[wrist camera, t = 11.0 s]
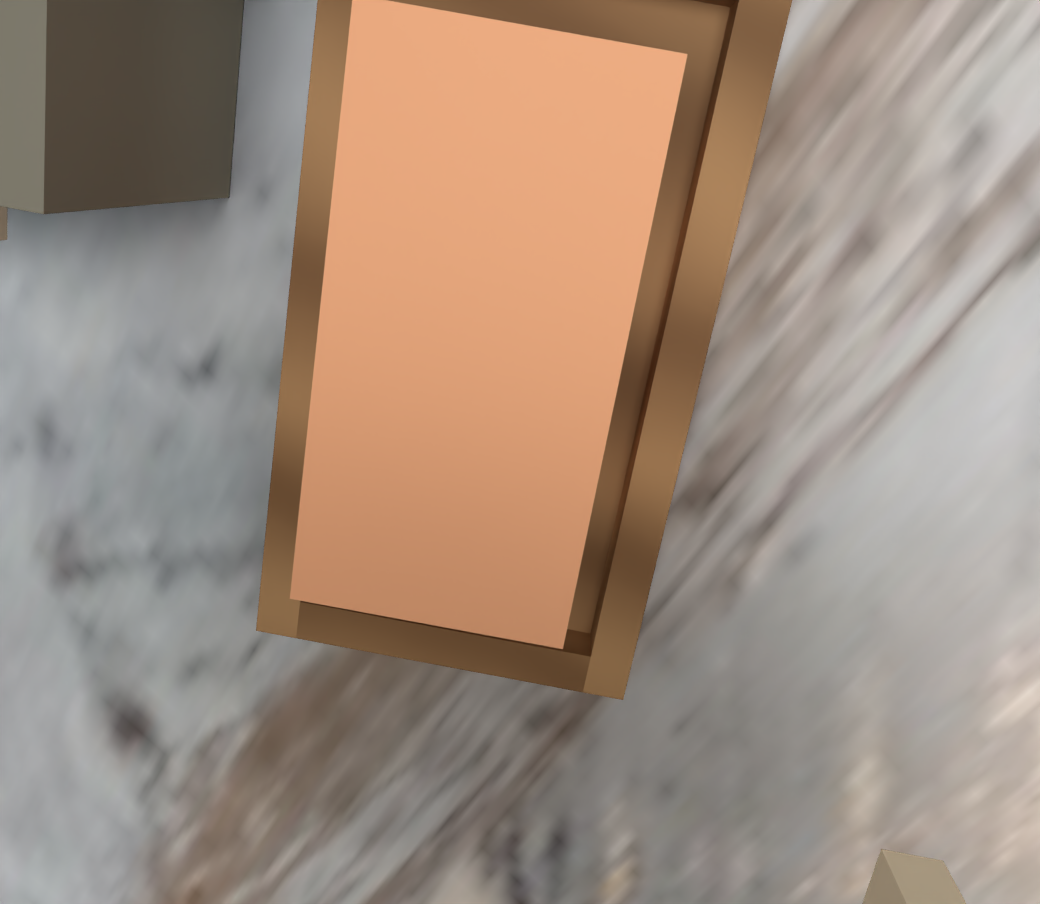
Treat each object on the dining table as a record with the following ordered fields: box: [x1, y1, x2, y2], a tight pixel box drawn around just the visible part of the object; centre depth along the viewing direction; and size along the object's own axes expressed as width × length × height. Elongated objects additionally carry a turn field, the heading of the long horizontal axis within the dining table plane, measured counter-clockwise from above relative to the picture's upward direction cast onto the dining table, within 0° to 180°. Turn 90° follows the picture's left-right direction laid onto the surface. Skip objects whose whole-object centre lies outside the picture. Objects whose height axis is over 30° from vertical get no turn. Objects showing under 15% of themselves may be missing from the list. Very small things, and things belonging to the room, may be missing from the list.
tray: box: [256, 0, 792, 700], centre depth 25 cm, size 20×11×2 cm, turn 170°
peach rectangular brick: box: [290, 0, 688, 649], centre depth 22 cm, size 12×6×8 cm, turn 170°
